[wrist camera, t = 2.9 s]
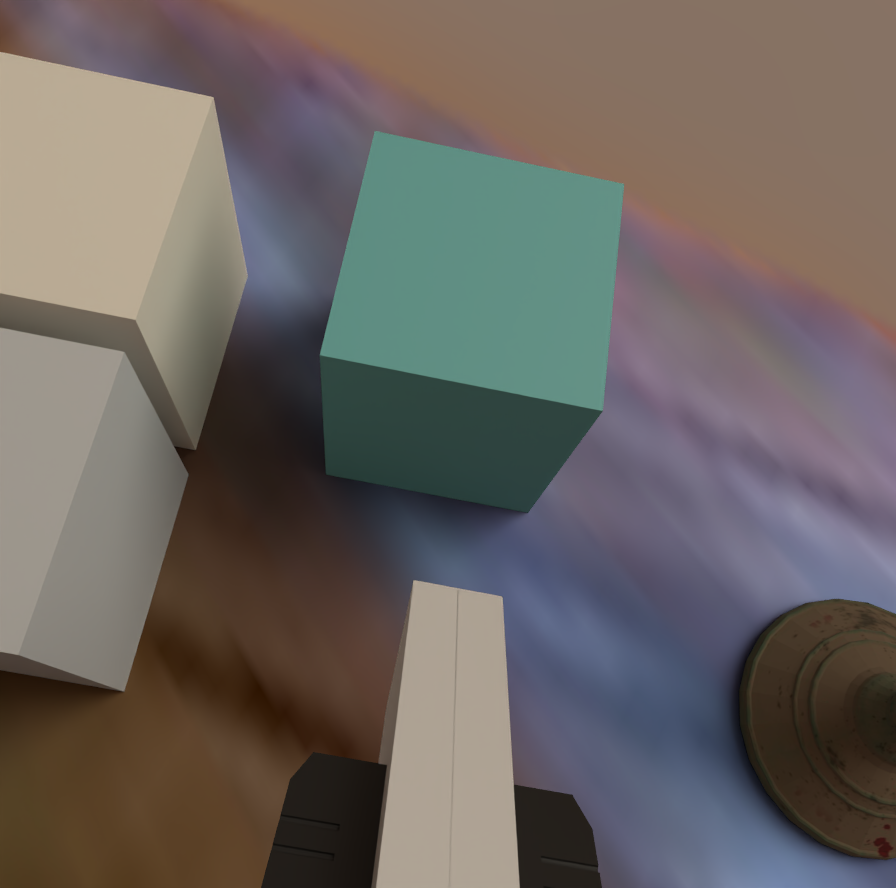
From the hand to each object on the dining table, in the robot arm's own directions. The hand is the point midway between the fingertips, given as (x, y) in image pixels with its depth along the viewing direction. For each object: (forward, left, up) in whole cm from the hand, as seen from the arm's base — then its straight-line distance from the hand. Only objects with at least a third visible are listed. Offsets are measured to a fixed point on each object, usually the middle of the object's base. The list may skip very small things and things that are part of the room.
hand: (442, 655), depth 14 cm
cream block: (-17, -5, -16) cm, 24 cm away
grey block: (-9, -10, -16) cm, 21 cm away
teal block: (-11, +6, -16) cm, 20 cm away
